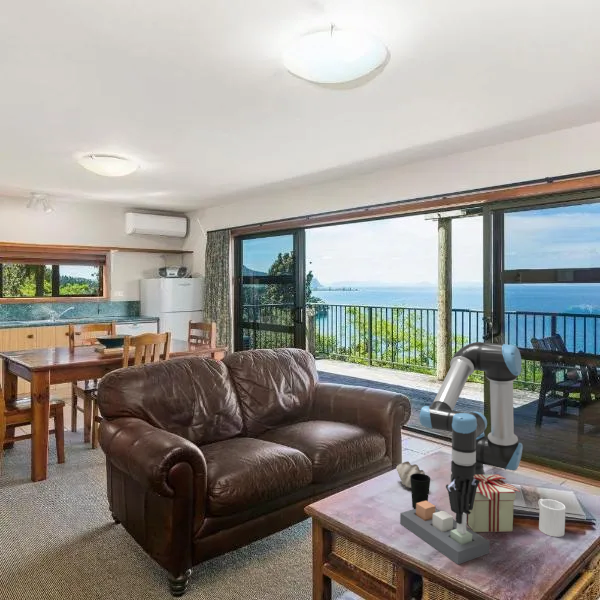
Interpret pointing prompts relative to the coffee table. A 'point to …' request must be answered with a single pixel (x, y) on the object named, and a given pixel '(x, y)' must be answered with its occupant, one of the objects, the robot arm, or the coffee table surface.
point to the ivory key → (442, 521)
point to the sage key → (461, 537)
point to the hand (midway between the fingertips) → (461, 531)
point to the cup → (419, 488)
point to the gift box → (492, 505)
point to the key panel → (445, 538)
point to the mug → (551, 517)
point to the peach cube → (425, 510)
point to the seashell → (407, 472)
